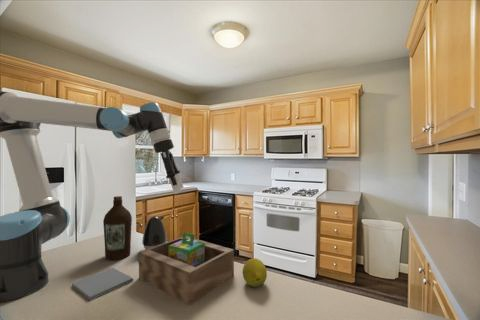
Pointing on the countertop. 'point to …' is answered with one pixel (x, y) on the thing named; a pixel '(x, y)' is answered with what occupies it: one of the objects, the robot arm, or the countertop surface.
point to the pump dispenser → (154, 233)
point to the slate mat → (101, 283)
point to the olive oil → (117, 231)
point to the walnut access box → (186, 270)
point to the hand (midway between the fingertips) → (179, 190)
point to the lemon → (254, 272)
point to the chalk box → (188, 251)
